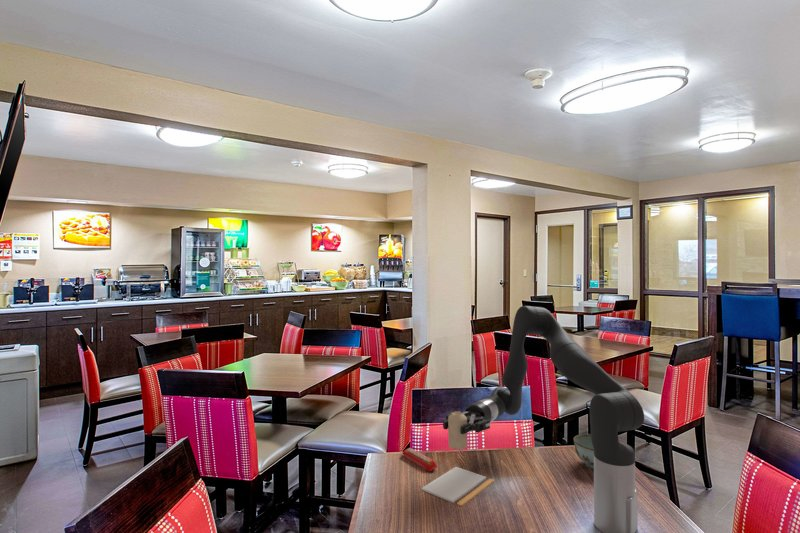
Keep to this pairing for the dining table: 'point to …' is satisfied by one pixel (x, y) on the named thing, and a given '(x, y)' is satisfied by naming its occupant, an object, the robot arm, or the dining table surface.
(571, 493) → the dining table surface
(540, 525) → the dining table surface
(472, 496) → the wooden stick
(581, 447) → the bowl
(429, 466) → the candy bar
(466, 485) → the mat
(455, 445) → the candle
